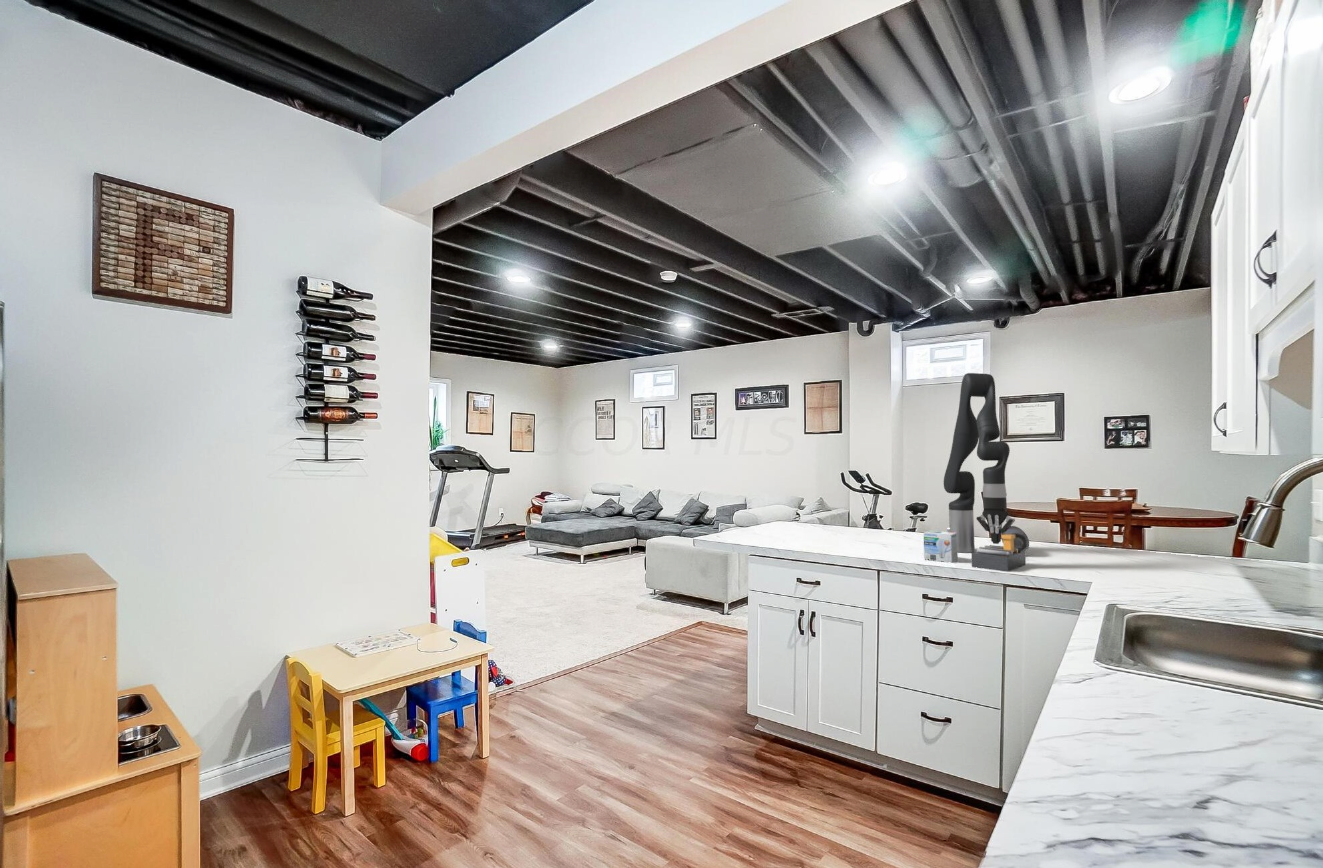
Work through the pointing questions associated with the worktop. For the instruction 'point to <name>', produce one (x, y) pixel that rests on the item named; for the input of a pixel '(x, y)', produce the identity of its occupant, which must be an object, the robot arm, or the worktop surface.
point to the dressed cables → (995, 551)
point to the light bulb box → (940, 546)
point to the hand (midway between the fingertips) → (996, 543)
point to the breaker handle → (1008, 541)
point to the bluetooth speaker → (1018, 538)
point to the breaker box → (998, 559)
